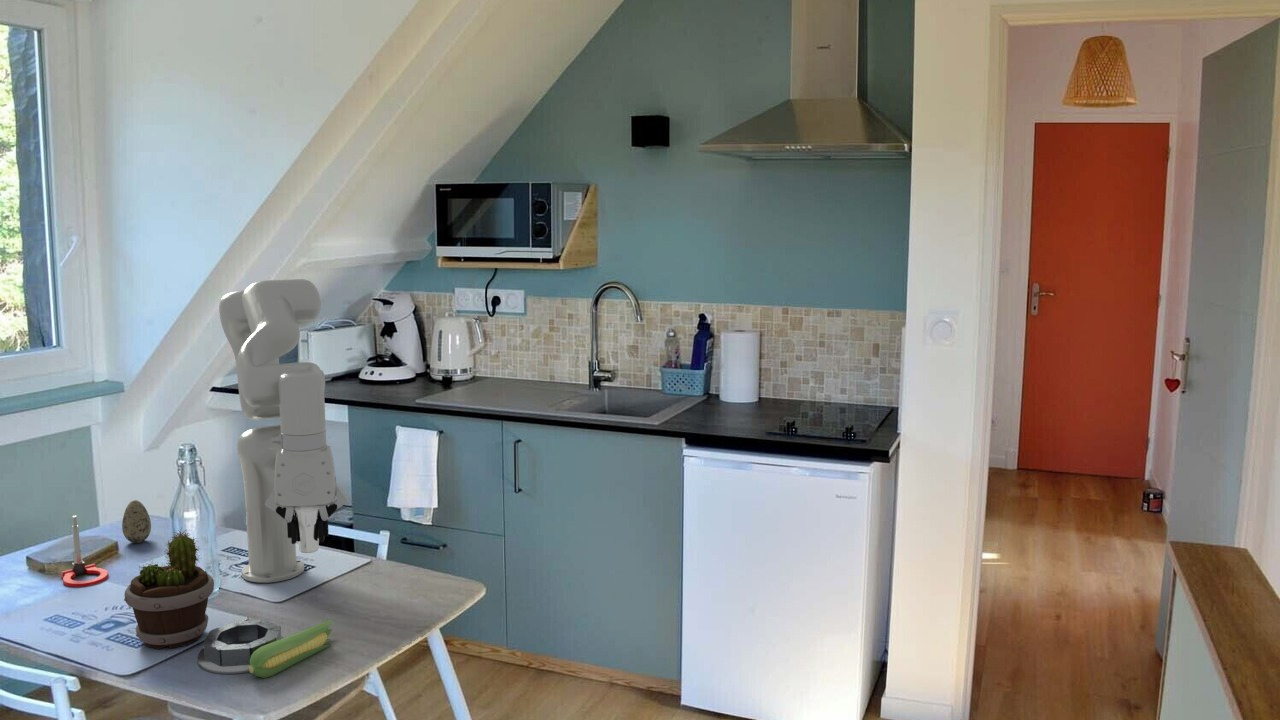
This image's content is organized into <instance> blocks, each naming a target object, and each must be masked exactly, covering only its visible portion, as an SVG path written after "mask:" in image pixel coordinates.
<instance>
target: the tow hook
mask: <svg viewBox="0 0 1280 720" xmlns="http://www.w3.org/2000/svg"><path fill="white" fill-rule="evenodd" d="M77 518H78V517H77V515H73V516H72V525H71V531H72V544H73V552H72V555H73V562H71V569H67V570H63V571H60V577H61V578H62V583H63V585H65V586H67V587H71V588H81V587H82V588H83V587H91V586H94V585H97V584H100V583H102V582H105V581H106V580H107V579H108V577H109V576H110V575H109V571H108V570H107V569H105V568H101V567H97V565H96V564H95V563H92V564H88V565H86V564H85V561H84V560H83V553H82V550H81V543H80V542H81V540H80V531H79V530H80V529H79V525H78V519H77ZM83 574H94V575H98V576H97V577H94V578H92V579H88V580H75V578H76V576H79V575H83Z"/></svg>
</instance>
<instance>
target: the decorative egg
mask: <svg viewBox="0 0 1280 720" xmlns="http://www.w3.org/2000/svg"><path fill="white" fill-rule="evenodd" d="M122 517H123V518H122V523H121V528H122V533H123V535H124V537H125V539H126V540H127V541H129V542H130V543H133V544H139V543H142V542H145V541H146V539H148V538H149V536H150V533H151V531H152V522H151V518H150V515H149V512H148V511H147V509H146V507H145V505H144V504H143V503H142V502H141V501H139V500H138V499H137V500H136V499H135V500H131V501H130V502H129V503H128V504H127V506H126V508H125V510H124V512H123V516H122Z"/></svg>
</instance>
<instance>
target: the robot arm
mask: <svg viewBox="0 0 1280 720" xmlns="http://www.w3.org/2000/svg"><path fill="white" fill-rule="evenodd" d="M321 302H322V301H321V296H320V293H319V291H318V288H317V287H316V285H315V284H314V283H313V282H312V281H310V280H309V279H308V280H307V279H302V278H299V279H298V278H297V279H272V280H271V279H269V280H260V281H256V282H254V283H253V282H252V283H251V284H250V285H248V286H247V287H245V289H244V290H237V291H232V292H229V293H226V294H225V295H223V296H222V297H221V299H220V301H219V305H218V306H219V307H218V312H219V317H220V323H221V327H222V330H223V332H224V334H225V337H226V339H227V341H228V343H229V345H230V347H231V349H232V352H233V356H234V360H235V364H236V366H235V367H236V377H237V387H238V395H239V402H240V403H239V404H240V407H241V412H242V414H243V416H244V417H245V418H246V419H248V420H252V421H265V420H266V421H267V420H268V421H269V420H277V419H279V422H280V424H277V425H276V424H275V425H267V426H258V427H255V428H250V429H247V430H246V431H244V432H243V433H241V435H240V436H239V438H238V440H237V444H236V447H237V455H238V460H239V465H240V468H241V469H240V470H241V472H242V473H241V474H242V479H243V480H242V482H243V488H244V502H245V517H246V519H245V520H246V521H245V522H246V536H247V540H246V541H247V554H248V555H247V556H248V564H246V565H245V566H244V567H243V568H242V569H241V577H242V578H243V579H244V580H245V581H248V582H253V583H260V584H262V583H263V584H265V583H267V584H268V583H278V582H283V581H287V580H291V579H293V578H296V577H297V576H298V577H299V575H301V574H302V573H303V572H304V570H305V562H304V561H302V560H300V559H299V558H297V545H296V543H298V536H297V528H296V520H295V513H294V507H309V506H318V507H319V511H320V520H319V543H324V542H325V538H326V537H328V536H329V518H330V517H331V516H332V515H333V514H334V513H335V512H336V511H337V510H338V509H340V508H341V507H342V506H344V505H346V504H347V503H348V500H349V499H348V496H347V494H346V493H345V492H344V491H343V490H342V489H341V487H340V486H339V485H338V484H337V480H336V479H337V478H336V477H337V476H336V470H335V462H334V457H333V452H332V449H331V446H330V445H329V444H327V427H326V426H327V425H326V409H325V408H326V406H325V405H326V404H325V402H326V401H325V390H326V378H325V373H324V371H323V369H321V368H320V366H319V365H317V364H316V363H314V362H306V361H305V362H303V361H302V362H294V363H293V362H292V363H291V362H289V363H287V362H286V363H280V359H279V358H280V357H282V356H285V355H286V354H288V353H290V352H291V351H292V350H294V349H295V347H296V346H297V345H298V343H299V341H300V337H301V331H300V329H303V328H305V327H307V326H309V325H311V324H312V323H314V322H316V320H317V319H318V318H319V316H320V313H321V310H322V303H321ZM335 499H336V500H335Z"/></svg>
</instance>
